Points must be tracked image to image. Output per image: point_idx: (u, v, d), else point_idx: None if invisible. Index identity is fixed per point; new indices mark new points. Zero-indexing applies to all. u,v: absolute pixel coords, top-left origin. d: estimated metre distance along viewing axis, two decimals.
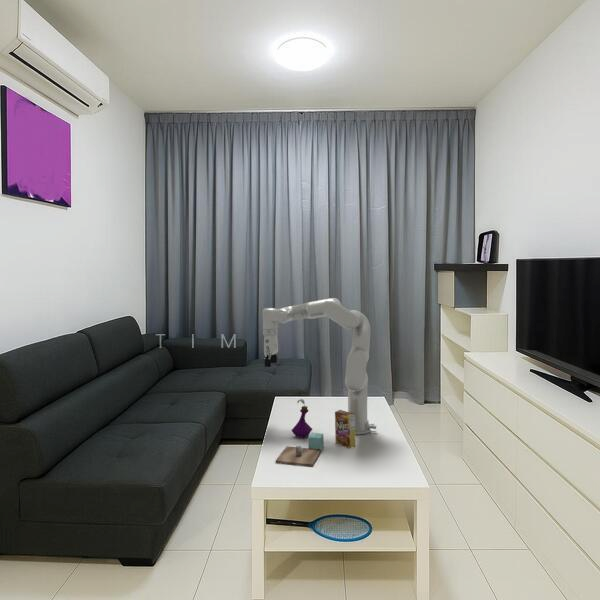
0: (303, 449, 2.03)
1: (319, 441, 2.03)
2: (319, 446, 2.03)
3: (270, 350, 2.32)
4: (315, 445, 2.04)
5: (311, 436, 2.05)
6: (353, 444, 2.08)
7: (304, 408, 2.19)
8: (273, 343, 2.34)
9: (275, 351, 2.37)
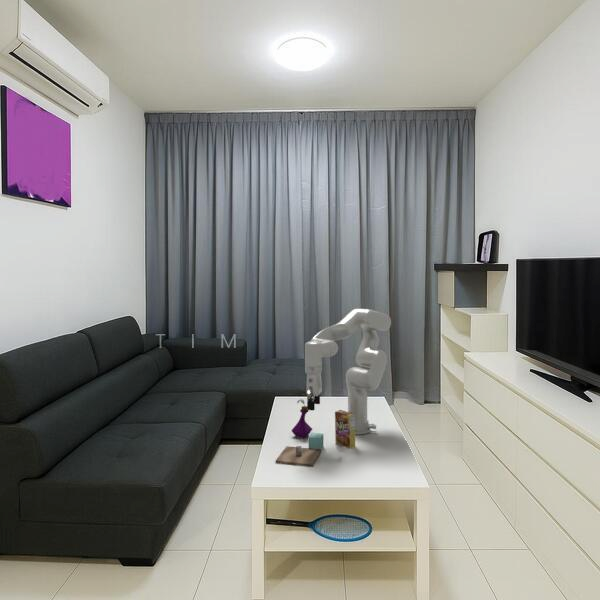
0: (303, 449, 2.03)
1: (319, 441, 2.03)
2: (319, 446, 2.03)
3: (314, 391, 2.00)
4: (315, 445, 2.04)
5: (311, 436, 2.05)
6: (353, 444, 2.08)
7: (304, 408, 2.19)
8: (317, 383, 2.02)
9: (319, 391, 2.04)
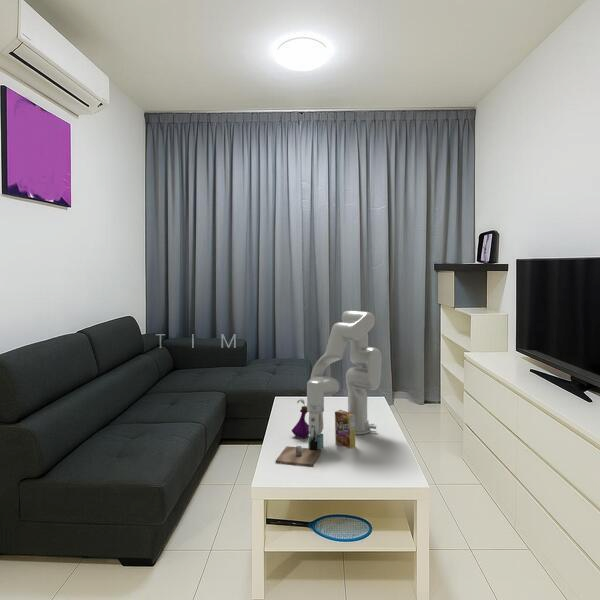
0: (303, 449, 2.03)
1: (319, 441, 2.03)
2: (319, 446, 2.03)
3: (316, 430, 2.00)
4: None
5: None
6: (353, 444, 2.08)
7: (304, 408, 2.19)
8: (319, 422, 2.02)
9: (321, 430, 2.04)
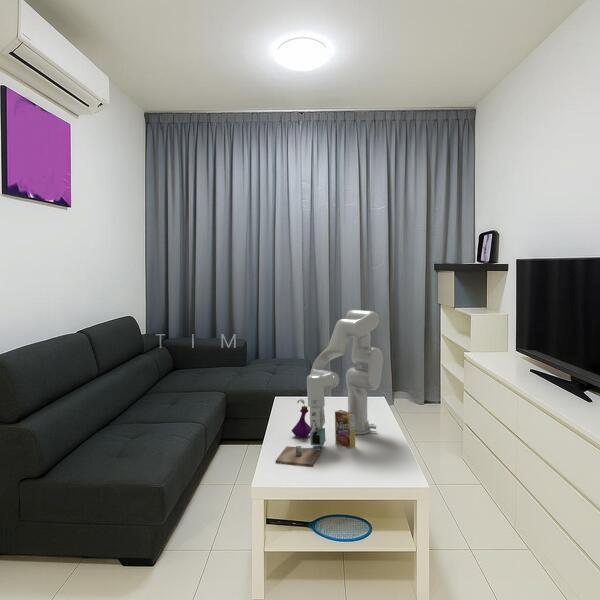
0: (303, 449, 2.03)
1: (321, 436, 2.04)
2: (321, 441, 2.04)
3: (318, 425, 2.01)
4: None
5: None
6: (353, 444, 2.08)
7: (304, 408, 2.19)
8: (320, 416, 2.02)
9: (322, 424, 2.05)
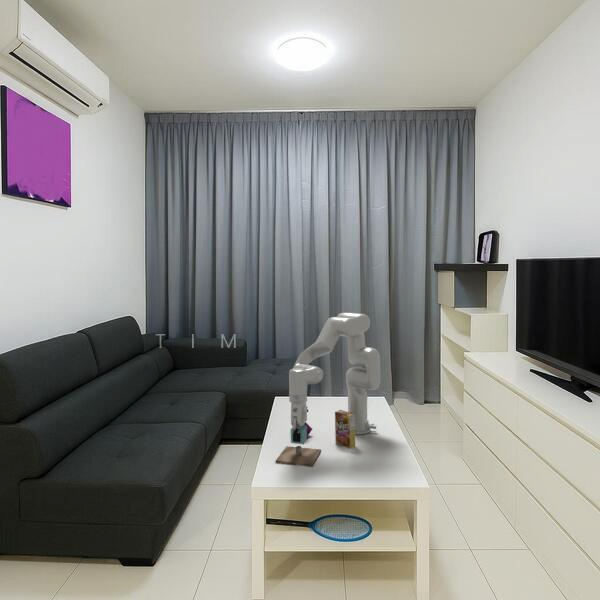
0: (303, 449, 2.03)
1: (302, 433, 1.93)
2: (302, 439, 1.93)
3: (299, 421, 1.91)
4: None
5: None
6: (353, 444, 2.08)
7: None
8: (302, 412, 1.92)
9: (304, 421, 1.95)
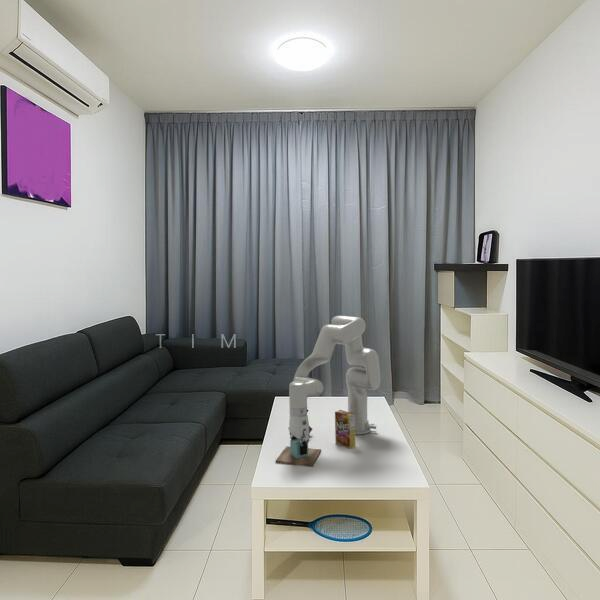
0: None
1: (307, 445, 1.96)
2: (307, 451, 1.96)
3: (308, 433, 1.93)
4: None
5: (297, 443, 1.95)
6: (353, 444, 2.08)
7: None
8: None
9: None
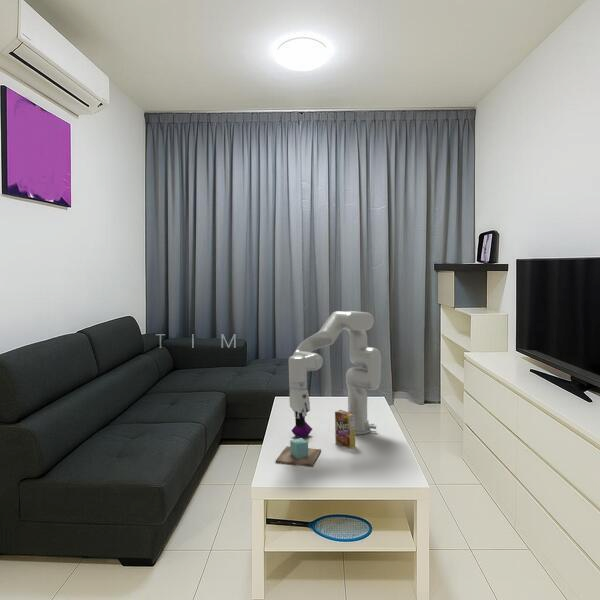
0: None
1: (307, 445, 1.96)
2: (307, 451, 1.96)
3: (308, 406, 1.93)
4: (303, 451, 1.95)
5: (297, 443, 1.95)
6: (353, 444, 2.08)
7: None
8: None
9: None
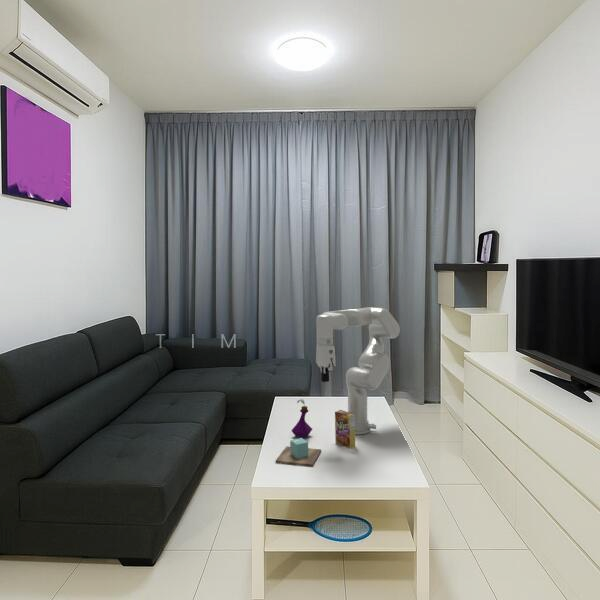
0: None
1: (307, 445, 1.96)
2: (307, 451, 1.96)
3: (334, 362, 2.06)
4: (303, 451, 1.95)
5: (297, 443, 1.95)
6: (353, 444, 2.08)
7: (304, 408, 2.19)
8: None
9: None
